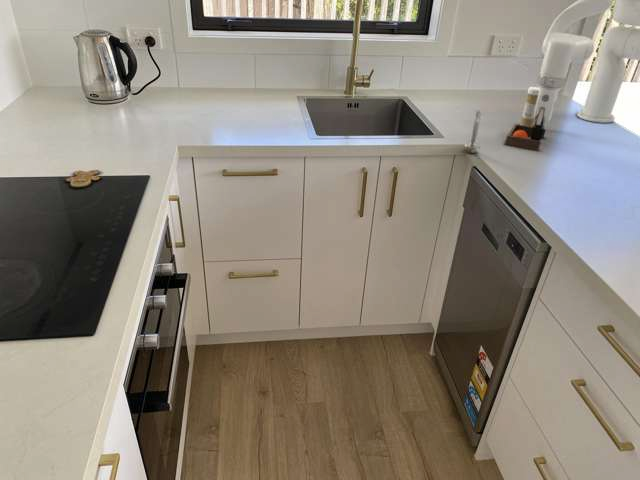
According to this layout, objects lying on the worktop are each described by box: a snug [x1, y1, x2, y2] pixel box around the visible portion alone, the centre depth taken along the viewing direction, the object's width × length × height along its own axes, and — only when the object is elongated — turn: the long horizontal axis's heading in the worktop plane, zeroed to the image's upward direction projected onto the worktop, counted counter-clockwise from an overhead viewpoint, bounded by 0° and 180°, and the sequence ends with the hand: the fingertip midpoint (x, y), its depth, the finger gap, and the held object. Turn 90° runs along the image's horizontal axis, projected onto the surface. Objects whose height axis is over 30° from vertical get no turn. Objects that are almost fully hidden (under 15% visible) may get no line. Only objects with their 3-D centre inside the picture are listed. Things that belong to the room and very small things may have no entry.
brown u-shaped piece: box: [504, 123, 547, 152], centre depth 158 cm, size 14×10×3 cm
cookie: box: [65, 169, 101, 189], centre depth 126 cm, size 8×1×10 cm
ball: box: [513, 130, 529, 139], centre depth 155 cm, size 4×4×4 cm
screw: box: [463, 110, 482, 154], centre depth 146 cm, size 13×5×5 cm
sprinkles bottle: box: [519, 86, 540, 127], centre depth 167 cm, size 5×5×14 cm
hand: (535, 139), depth 156 cm, fingers closed
